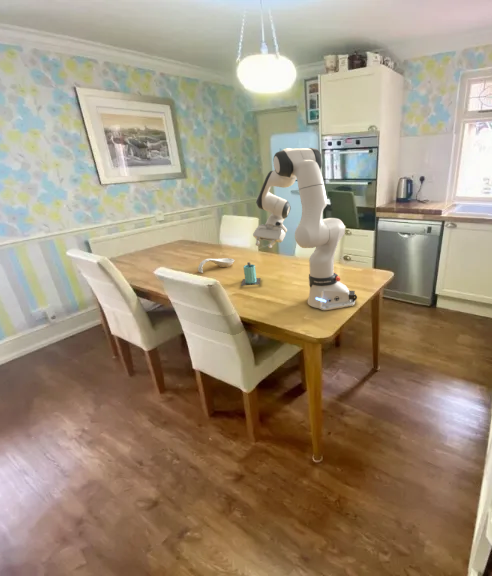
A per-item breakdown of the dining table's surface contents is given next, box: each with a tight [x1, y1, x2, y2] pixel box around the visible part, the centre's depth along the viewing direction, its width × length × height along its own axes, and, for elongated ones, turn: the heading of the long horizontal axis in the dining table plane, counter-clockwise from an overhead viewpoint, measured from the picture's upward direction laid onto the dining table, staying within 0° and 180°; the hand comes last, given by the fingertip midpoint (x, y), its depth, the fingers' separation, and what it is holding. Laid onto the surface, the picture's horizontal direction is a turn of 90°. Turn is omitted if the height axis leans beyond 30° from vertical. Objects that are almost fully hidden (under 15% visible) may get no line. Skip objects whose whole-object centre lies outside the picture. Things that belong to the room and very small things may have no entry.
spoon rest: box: [197, 257, 235, 274], centre depth 202 cm, size 24×12×7 cm, turn 136°
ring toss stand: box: [240, 261, 262, 286], centre depth 174 cm, size 10×10×12 cm
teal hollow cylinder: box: [243, 263, 257, 284], centre depth 174 cm, size 6×6×9 cm
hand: (263, 246), depth 178 cm, fingers open, 8 cm apart
